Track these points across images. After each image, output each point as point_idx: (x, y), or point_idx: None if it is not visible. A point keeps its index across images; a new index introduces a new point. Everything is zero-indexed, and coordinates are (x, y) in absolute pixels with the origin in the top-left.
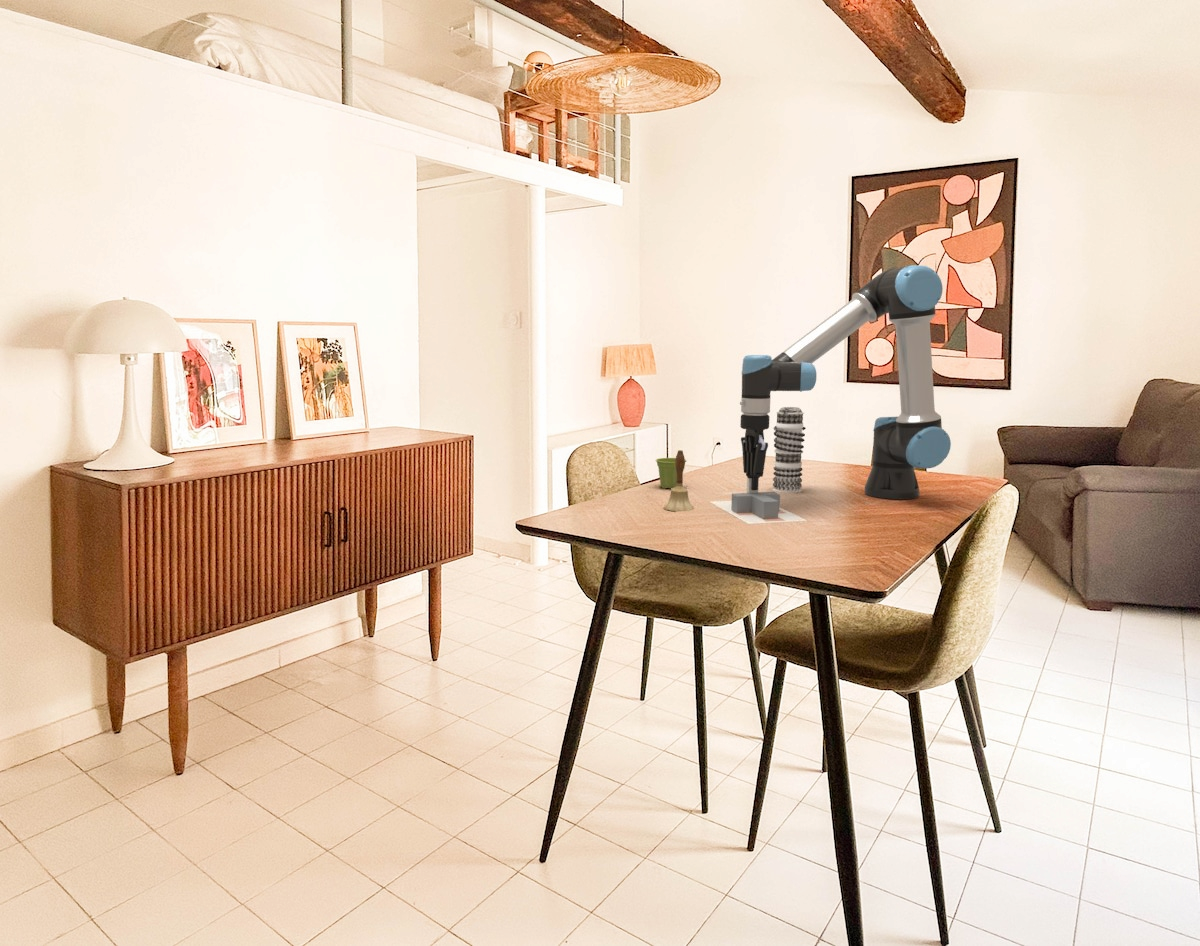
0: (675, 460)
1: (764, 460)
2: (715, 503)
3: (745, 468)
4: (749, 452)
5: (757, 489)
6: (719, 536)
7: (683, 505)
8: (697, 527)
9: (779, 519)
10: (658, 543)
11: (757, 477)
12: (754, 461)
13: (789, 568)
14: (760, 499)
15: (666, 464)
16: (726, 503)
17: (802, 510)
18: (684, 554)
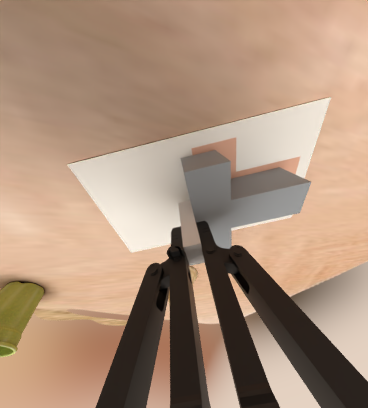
0: None
1: (310, 321)
2: (144, 246)
3: (168, 294)
4: (207, 395)
5: (205, 221)
6: (323, 245)
7: (193, 278)
8: (276, 260)
9: (288, 166)
10: (313, 278)
11: (222, 251)
12: (269, 328)
13: None
14: (274, 216)
15: (16, 343)
16: (141, 234)
17: (199, 66)
18: (356, 265)
